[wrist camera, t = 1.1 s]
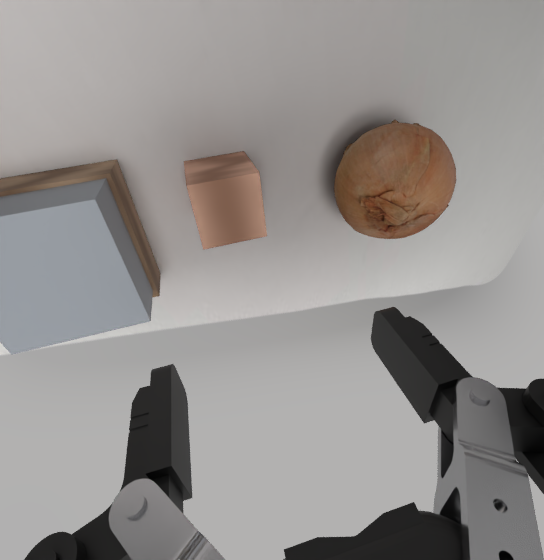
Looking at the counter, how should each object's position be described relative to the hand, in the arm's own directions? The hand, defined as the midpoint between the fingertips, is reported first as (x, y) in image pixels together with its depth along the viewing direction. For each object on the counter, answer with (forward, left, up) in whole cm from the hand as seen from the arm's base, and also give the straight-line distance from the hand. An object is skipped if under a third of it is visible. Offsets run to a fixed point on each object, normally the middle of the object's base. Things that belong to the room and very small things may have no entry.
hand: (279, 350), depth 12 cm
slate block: (+13, +2, -16) cm, 20 cm away
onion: (-14, +1, -20) cm, 24 cm away
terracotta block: (0, 0, -20) cm, 20 cm away
